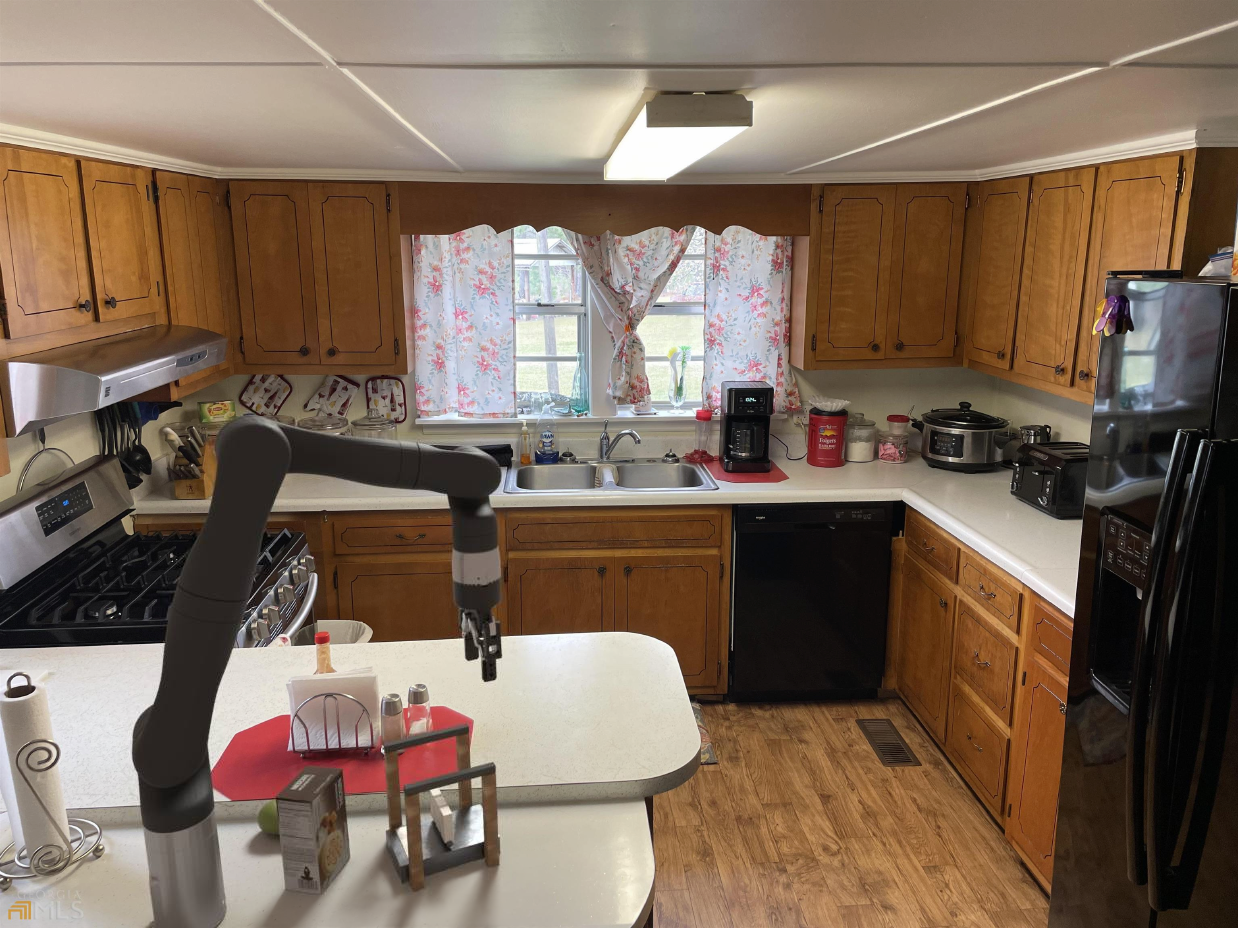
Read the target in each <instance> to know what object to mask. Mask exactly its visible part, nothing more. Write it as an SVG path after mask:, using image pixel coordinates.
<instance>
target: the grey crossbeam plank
mask: <svg viewBox="0 0 1238 928" xmlns="http://www.w3.org/2000/svg"><path fill="white" fill-rule="evenodd" d="M492 773H496V774H497V766H496V764H495V763H494V761H491V762H487V763H483V764H480V765H476V766H471V768H468V769H464V770H460V771H457V770H456V771H453V772H449V773H445V774H440V775H437V776H433V777H430V778H429V777H428V778H425V779H422V780H417V781H415V782H410V783H407V784H403V795H404V794H405V796H410V795H414V794H417V793H419V794H421V793H424V792H427V791H429V792H430V790H432V789H436V788H439V789H440V788H444V787H446V786H450V785H454V784H458V783H459V782H462V781H466V780H470V779H471V780H473V779H477V778H481V776H485V775H489V774H492Z"/></svg>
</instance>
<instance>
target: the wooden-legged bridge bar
mask: <svg viewBox="0 0 1238 928" xmlns="http://www.w3.org/2000/svg"><path fill="white" fill-rule="evenodd" d="M467 733H469V734H470V726H469V725H468V723H467V722H465V723H462V724H458V725H453V726H450V727H446V728H442V729H437V730H433V731H429V732H424V733H420V734H414V735H411V736H408V737H403V738H399V739H395V740H391V741H385V742H383V743H382V744H383V752H385V753H389V752H393V751H401V750H404V749H405V750H406V749H409V748H414V747H417V746H420V745H421V746H422V745H426V744H430V743H434V742H439V741H441V740H445V739H451V738H454V737H455V738H456V736H459V735H463V734H467Z"/></svg>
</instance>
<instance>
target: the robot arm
mask: <svg viewBox="0 0 1238 928" xmlns="http://www.w3.org/2000/svg"><path fill="white" fill-rule="evenodd" d="M214 454H215V457H216V470H215V471H216V472H215V479H214V486H213V490H212V494H211V495H212V496H211V501H210V505H209V509H208V513H207V517H206V520H205V522H204V523H203V526H202V528H201V530H200V532H199V534H198V536H197V538H196V540H195V541H194V544H193V545H192V547H191V549H190V551H189V553H188V554H187V555H188V556H187V558H186V561H185V562H184V565H183V568H182V569H181V573H180V574H179V579H178V581H177V585H176V588H175V593H174V595H173V599H172V602H171V606H170V610H169V615H168V620H167V625H166V631H165V638H164V646H163V656H162V663H161V664H162V665H161V667H162V668H161V674H160V680H159V684H158V690H157V691H156V692H157V693H156V695H155V697H154V698H155V699H154V701H153V704H151V705H150V706H148V707H147V708H146V709H145V710H144V711H143V712H142V713H141V714H140V715H139V716H138V718H137V720H136V721H135V724H134V726H133V729H132V730H133V731H132V742H131V761H132V765H133V767H134V769H135V772H136V773H137V780H138V791H139V792H138V793H139V794H138V795H139V807H140V815H141V822H142V828H143V836H144V845H145V850H146V852H145V853H146V858H147V859H146V860H147V866H148V886H149V893H150V901H151V908H152V917H153V923H154V928H216V927H218V925H219V924H220V923H221V922H222V921H223V919H224V918H225V916H226V913H227V902H226V897H227V896H226V893H225V884H224V875H223V865H222V861H221V859H222V857H221V848H220V842H219V834H218V825H217V817H216V815H217V814H216V806H215V798H214V787H213V785H214V784H213V778H212V777H213V776H212V769H211V762H210V754H209V739H210V732H211V731H210V730H211V724H212V720H213V713H214V709H215V703H216V699H217V696H218V695H217V694H218V692H219V688H220V685H221V682H222V680H223V677H224V675H225V672H226V668H227V666H228V664H229V661H230V659H231V655H232V652H233V649H234V648H235V644H236V641H237V639H238V635H239V631H240V630H241V626H242V623H243V620H244V617H245V613H246V610H247V606H248V604H249V599H250V595H251V592H252V589H253V584H254V579H255V575H256V571H257V567H258V563H259V558H260V552H261V548H262V547H261V546H262V541H263V536H264V532H265V528H266V525H267V522H268V520H269V516H270V514H271V512H272V509H273V507H274V504H275V502H276V499H277V497H278V494H279V492H280V489H281V487H282V485H283V482H284V480H285V478H286V475H288V474H302V475H315V476H316V475H317V476H324V477H330V478H335V479H338V480H339V479H341V480H345V481H349V482H354V483H358V484H363V485H368V486H372V487H380V488H388V489H396V490H397V489H400V490H408V491H409V490H411V491H413V490H414V491H426V492H427V491H428V492H432V493H433V492H434V493H438V494H442V495H447V501H448V507H449V510H450V516H451V522H452V523H451V537H452V538H451V539H452V557H451V572H452V574H451V575H452V593H453V594H452V596H453V597H452V598H453V603H454V605H455V606H456V607H457V612H458V613H457V614H458V616H457V617H458V630H459V631H460V632H461V637H462V639H463V641H464V642H463V643H464V658H465V660H466V661H467V662H472V661H476V660H478V659H479V658H480V666H481V680H482V681H483V683H488V682H493V681H496V680H497V679H498V677H497V670H498V669H497V660H501V659H502V658H503V653H502V651H503V650H502V635H501V634H502V632H501V623H500V620H497V621H496V620H495V617H494V614H493V613H492V609H493V608H495V607H496V606H498V605H499V604H500V603H501V601H502V595H503V593H502V569H501V554H500V549H499V548H500V547H499V532H498V531H499V530H498V529H499V527H498V519H497V515H496V513H495V511H494V509H493V507H492V505H491V502H490V501H491V500H490V495H492V494H493V493H495V492H496V491H497V489H499V487H500V484H501V482H502V477H503V476H502V474H503V472H502V469H501V466H500V464H499V463H498V461H497V460H496V458H495V457H493V456H492V455H490V454H488V453H487V452H485V451H483V450H481V449H480V448H478V447H475V446H472V445H461V446H459V447H458V446H457V448H455V449H454V450H447V449H441V448H438V447H436V446H435V447H434V446H432V445H430V444H426V443H420V442H415V441H413V442H412V441H405V440H395V439H385V438H377V437H375V438H372V437H363V436H361V437H360V436H352V435H350V436H349V435H342V434H335V433H334V434H333V433H329V432H323V431H322V432H321V431H316V430H309V429H306V428H301V427H296V426H292V425H290V424H286V423H283V422H278V421H275V420H272V419H268V418H266V417H263V416H260V415H255V414H246V415H241V416H237V417H234V418H232V419H230V420H228V421H227V422H226V423H225V424H223V426H221V428H220V429H219V430H218V433H217V434H216V437H215V441H214ZM490 647H491V651H490Z"/></svg>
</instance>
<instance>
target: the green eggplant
mask: <svg viewBox="0 0 1238 928" xmlns="http://www.w3.org/2000/svg"><path fill="white" fill-rule="evenodd" d="M257 825H258V826H259V829H260V830H261V831H262V832H263V833H265V834H268V835H280V834H279V824H278V815H277V806H276V799H274V800H273V799H271V800H270V801H267V802H266V803H265V804H264V805H263V806H262V807H261V808H260V810H259V811H258V815H257Z"/></svg>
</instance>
